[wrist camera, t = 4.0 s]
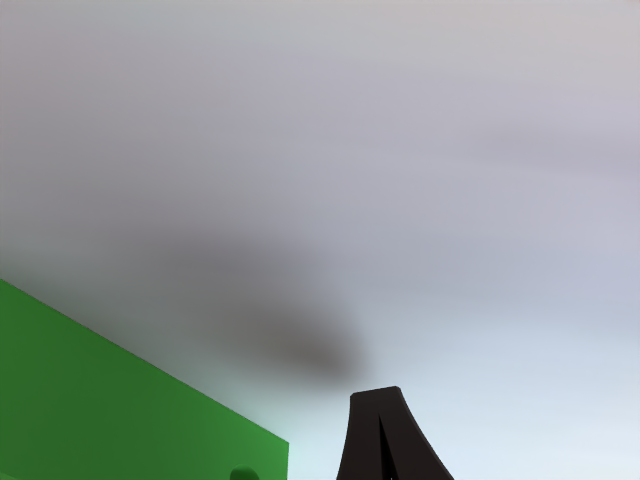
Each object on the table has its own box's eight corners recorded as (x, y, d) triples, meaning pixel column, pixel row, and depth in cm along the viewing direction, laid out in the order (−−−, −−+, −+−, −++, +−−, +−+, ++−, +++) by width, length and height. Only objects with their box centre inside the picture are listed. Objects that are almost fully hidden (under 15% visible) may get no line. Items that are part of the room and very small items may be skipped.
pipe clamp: (-79, 337, 13) (-271, 484, 9) (-30, 253, 11) (-224, 375, 7) (227, 492, 16) (196, 652, 12) (291, 439, 15) (281, 597, 11)
